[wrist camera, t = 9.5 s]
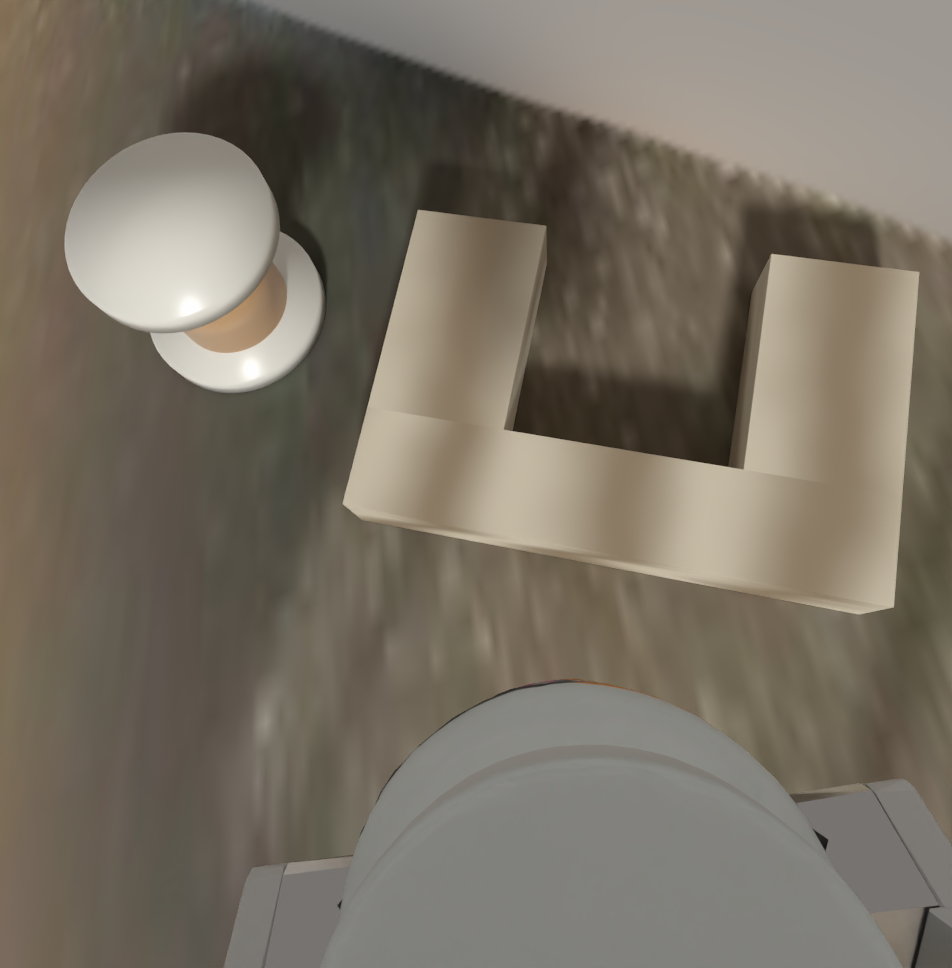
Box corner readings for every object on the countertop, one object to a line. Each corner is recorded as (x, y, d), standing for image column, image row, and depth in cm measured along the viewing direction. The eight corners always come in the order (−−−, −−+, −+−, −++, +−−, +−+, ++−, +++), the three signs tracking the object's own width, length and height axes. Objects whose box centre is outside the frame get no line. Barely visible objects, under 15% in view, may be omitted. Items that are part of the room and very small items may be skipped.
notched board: (362, 519, 31) (342, 503, 28) (429, 249, 34) (418, 209, 31) (858, 614, 28) (893, 607, 26) (885, 309, 31) (919, 272, 28)
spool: (137, 378, 34) (35, 304, 27) (188, 226, 36) (104, 122, 29) (300, 405, 33) (235, 335, 26) (344, 247, 35) (294, 144, 28)
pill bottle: (680, 657, 15) (899, 625, 6) (751, 967, 14) (1207, 1609, 4) (412, 703, 16) (201, 744, 6) (453, 1012, 14) (259, 1710, 5)
